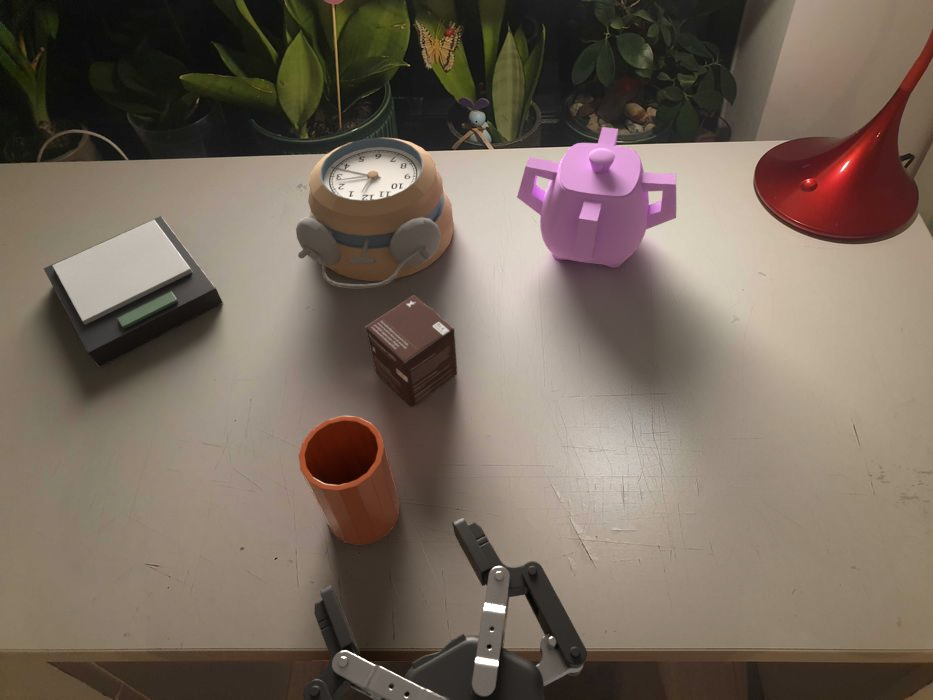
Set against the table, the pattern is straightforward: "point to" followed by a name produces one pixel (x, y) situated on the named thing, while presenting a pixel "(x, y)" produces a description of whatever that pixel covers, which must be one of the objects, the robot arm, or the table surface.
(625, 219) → the pot
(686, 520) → the table surface
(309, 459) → the cup
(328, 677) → the robot arm
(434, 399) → the table surface
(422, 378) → the box
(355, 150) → the alarm clock
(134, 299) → the scale
